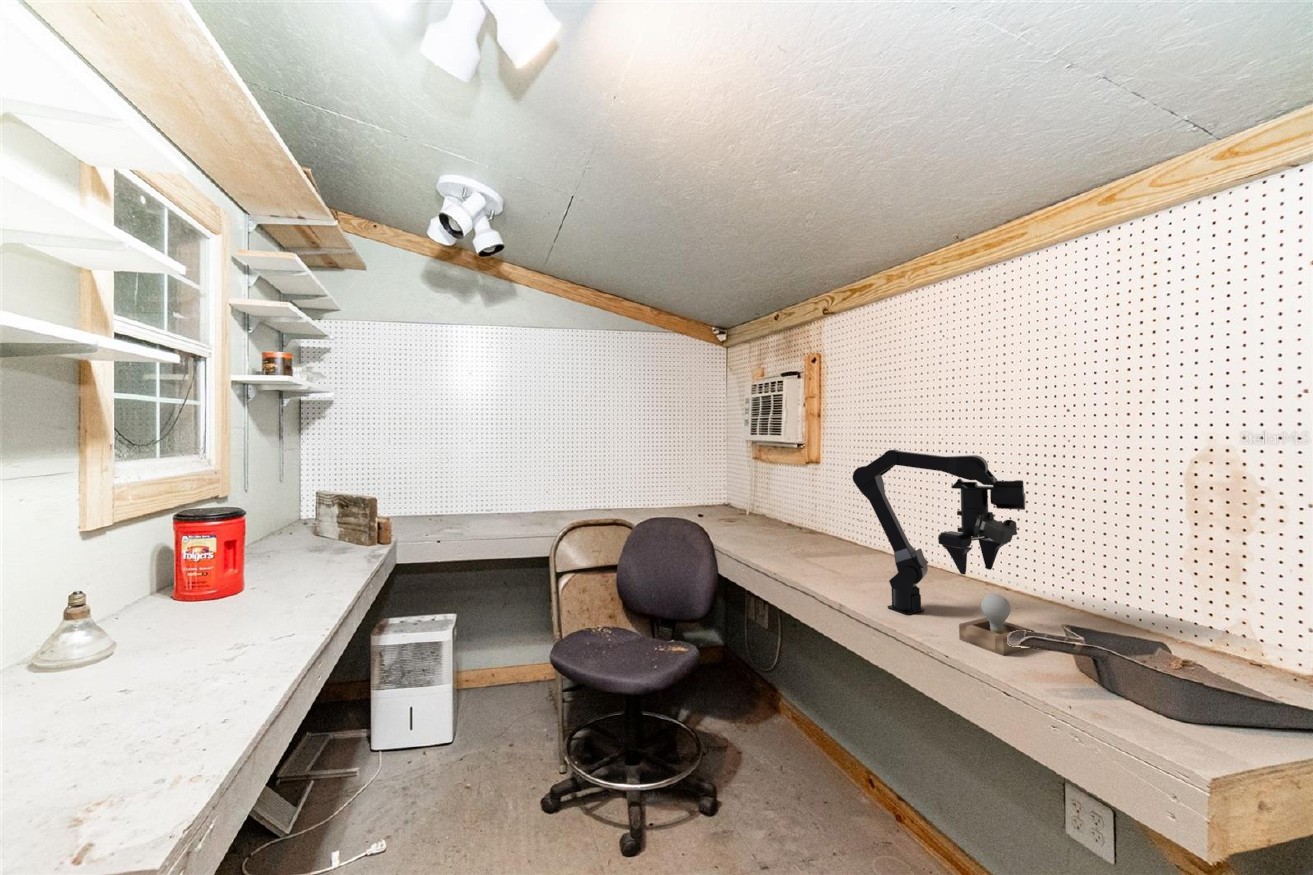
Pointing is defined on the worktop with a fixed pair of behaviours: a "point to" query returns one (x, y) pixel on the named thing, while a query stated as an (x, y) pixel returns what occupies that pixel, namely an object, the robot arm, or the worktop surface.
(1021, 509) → the robot arm
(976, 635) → the socket block
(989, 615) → the light bulb
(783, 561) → the worktop surface
